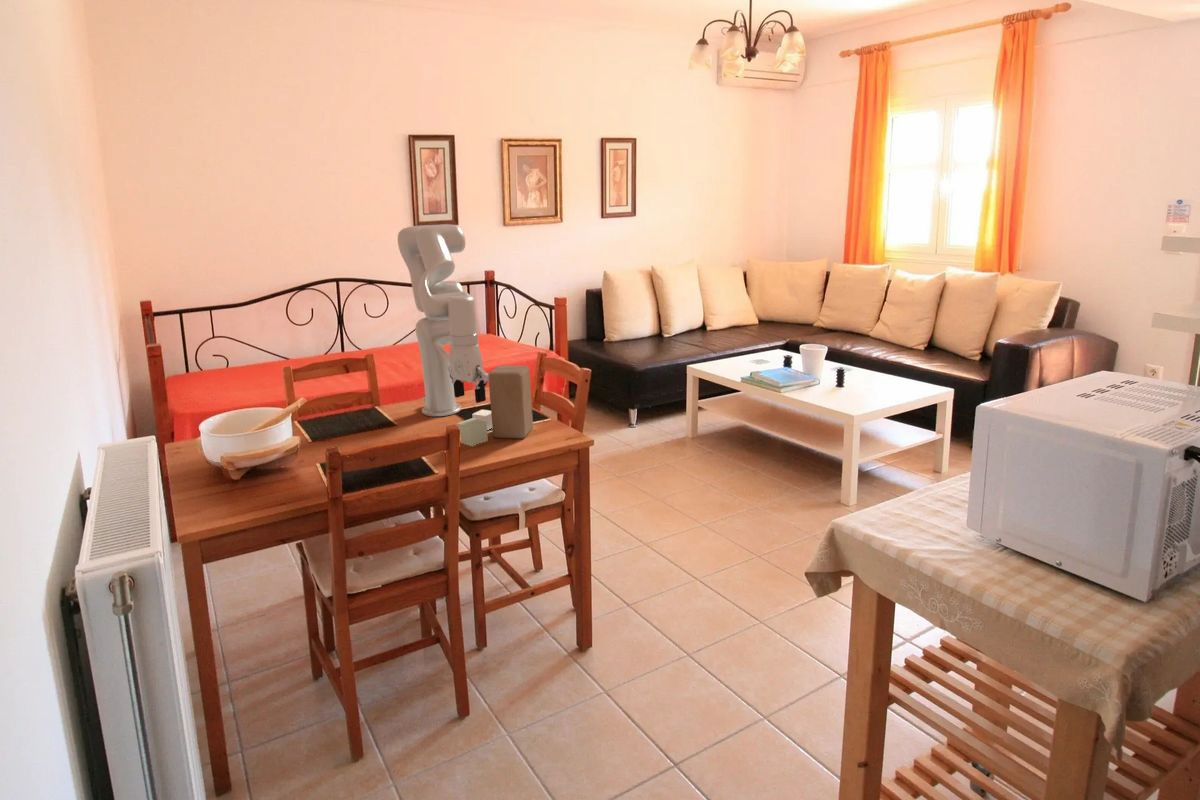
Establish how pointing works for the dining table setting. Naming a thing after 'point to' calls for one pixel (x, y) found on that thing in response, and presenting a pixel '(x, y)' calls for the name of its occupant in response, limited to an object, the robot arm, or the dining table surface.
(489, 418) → the cream cube
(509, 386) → the block
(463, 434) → the sage cube
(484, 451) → the dining table surface
